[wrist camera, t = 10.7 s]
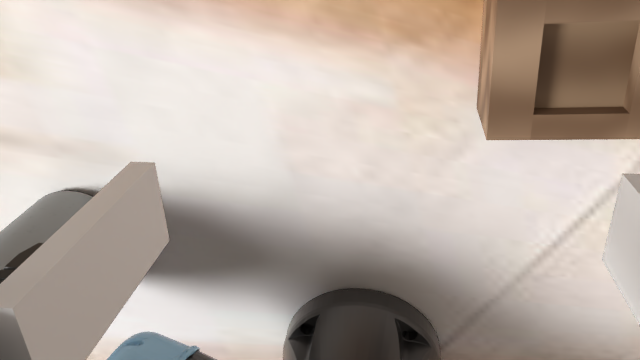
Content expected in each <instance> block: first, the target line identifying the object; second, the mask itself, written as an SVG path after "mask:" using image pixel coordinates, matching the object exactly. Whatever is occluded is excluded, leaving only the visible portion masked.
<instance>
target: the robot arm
mask: <svg viewBox="0 0 640 360" xmlns="http://www.w3.org/2000/svg"><path fill="white" fill-rule="evenodd" d="M169 241H170V239H169V234H168V229H167V224H166V219H165V213H164V208H163V203H162V198H161V193H160V188H159V182H158V177H157V172H156V167H155V163H148V162H130V163H129V164H128V165H127V166H126V167H125V168H124V169H123V170H122V171H121V172H119V173H118V174H117V175H116V176H115V177H114V178H113V179H112V180H111V181H110V182H109V183H108V184H107V185H106V186H105V187H103V188H102V189H101V190H100V191H99V192H98V193H97V194H96V195H95V196H94V197H93V198H92V199H91V200H90V201H88V202H87V203H86V204H85V205H84V206H83V207H82V208H81V209H80V210H79V211H78V212H77V213H76V214H75V215H73V216H72V217H71V218H70V219H69V220H68V221H67V222H66V223H65V224H64V225H63V226H62V227H61V228H60V229H59V230H57V231H56V232H55V233H54V234H53V235H52V236H51V237H50V238H49V239H48V240H47V241H46V242H45V243H37V244H35V245H34V246H32V247H30V248H28V249H26V250H25V251H23V252H21V253H19V254H18V255H17V256H16V257H14V258H13V259H12V260H11V261H10V262H9V263H8V264H7V265H6V266H5V267H4V270H3V269H1V270H0V360H86V359H87V358H88V356H89V355H90V353H91V352H92V351H93V349H94V348H95V346H96V345H97V343H98V342H99V341H100V339H101V338H102V336H103V335H104V333H105V332H106V331H107V329H108V328H109V326H110V325H111V323H112V322H113V321H114V319H115V318H116V316H117V315H118V313H119V312H120V311H121V309H122V308H123V306H124V305H125V303H126V302H127V301H128V299H129V298H130V296H131V295H132V293H133V292H134V291H135V289H136V288H137V286H138V285H139V283H140V282H141V281H142V279H143V278H144V276H145V275H146V273H147V272H148V271H149V269H150V268H151V266H152V265H153V263H154V262H155V261H156V259H157V258H158V256H159V255H160V253H161V252H162V251H163V249H164V248H165V246H166V245H167V243H168V242H169ZM602 260H603V262H604V264H605V266H606V267H607V269H608V271H609V273H610V274H611V276H612V278H613V280H614V281H615V283H616V285H617V287H618V288H619V290H620V292H621V294H622V295H623V297H624V299H625V301H626V302H627V304H628V306H629V308H630V310H631V311H632V313H633V315H634V317H635V318H636V320H637V322H638V324H639V325H640V174H622V178H621V182H620V186H619V190H618V194H617V199H616V203H615V207H614V211H613V216H612V220H611V224H610V228H609V232H608V237H607V241H606V245H605V249H604V253H603V258H602ZM199 350H200V348H199V347H197V346H192V347H190V346H187V345H185V344H182V343H180V342H177V341H175V340H173V339H170V338H168V337H165V336H163V335H160V334H158V333H155V332H141V333H138V334H136V335H133V336H131V337H130V338H128V339H127V340H126V341H124V342H123V343H122V344H121V345H120V346H119V347H118V348H117V349H116V350H115V351H114V352H113V353H112V354H111V355H110V357H109V358H108V359H107V360H217V359H215V358H213V357H210V356H208V355H206V354H204V353H202V352H200V351H199ZM283 360H441V359H440V345H439V341H438V338H437V335H436V333H435V331H434V329H433V327H432V326H431V324H430V323H429V321H428V320H427V319H426V318H425V317H424V316H423V315H422V314H421V313H420V312H419V311H418V310H417V309H415V308H414V307H413V306H411V305H410V304H408V303H406V302H405V301H403V300H401V299H399V298H396V297H394V296H391V295H389V294H386V293H382V292H378V291H373V290H366V289H344V290H337V291H333V292H329V293H326V294H323V295H320V296H318V297H316V298H314V299H312V300H311V301H309V302H308V303H306V304H305V305H304V306H302V307H301V308H300V309H299V310H298V312H297V313H296V314H295V315H294V317H293V319H292V320H291V323H290V325H289V328H288V331H287V335H286V339H285V342H284V348H283Z"/></svg>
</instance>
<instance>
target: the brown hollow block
mask: <svg viewBox="0 0 640 360" xmlns="http://www.w3.org/2000/svg"><path fill="white" fill-rule="evenodd" d="M477 110H478V113H479V116H480V120H481V123H482V126H483V130H484V133H485V136H486V140H572V139H640V0H484V7H483V22H482V37H481V52H480V67H479V82H478V98H477Z"/></svg>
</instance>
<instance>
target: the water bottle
mask: <svg viewBox="0 0 640 360" xmlns="http://www.w3.org/2000/svg"><path fill="white" fill-rule="evenodd" d="M92 198H93V197H92V196H90V195H88V194H84V193H81V192H76V191H58V192H54V193H51V194H48V195H46V196H44V197H43V198H41V199H40V200H38V201H37V202H36V203H35V204H33V205H32V206H31V207H30V208H29V209H27V210H26V211H25V212H24V213H23V214H21V215H20V216H19V217H18V218H17V219H15V220H14V221H13V222H12V223H11V224H9V225H8V226H7V227H6V228H5V229H3V230H2V231H1V232H0V270H1V269H3V270H4V267H5V266H6V265H7V264H8V263H9V262H10V261H11V260H12V259H13V258H14V257H16V256H17V255H18V254H19V253H21V252H23V251H25V250H26V249H28V248H30V247H32V246H34V245H35V244H37V243H45V242H46V241H47V240H48V239H49V238H50V237H51V236H52V235H53V234H54V233H55V232H56V231H57V230H59V229H60V228H61V227H62V226H63V225H64V224H65V223H66V222H67V221H68V220H69V219H70V218H71V217H72V216H73V215H75V214H76V213H77V212H78V211H79V210H80V209H81V208H82V207H83V206H84V205H85V204H86V203H87V202H88V201H90V200H91V199H92Z"/></svg>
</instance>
